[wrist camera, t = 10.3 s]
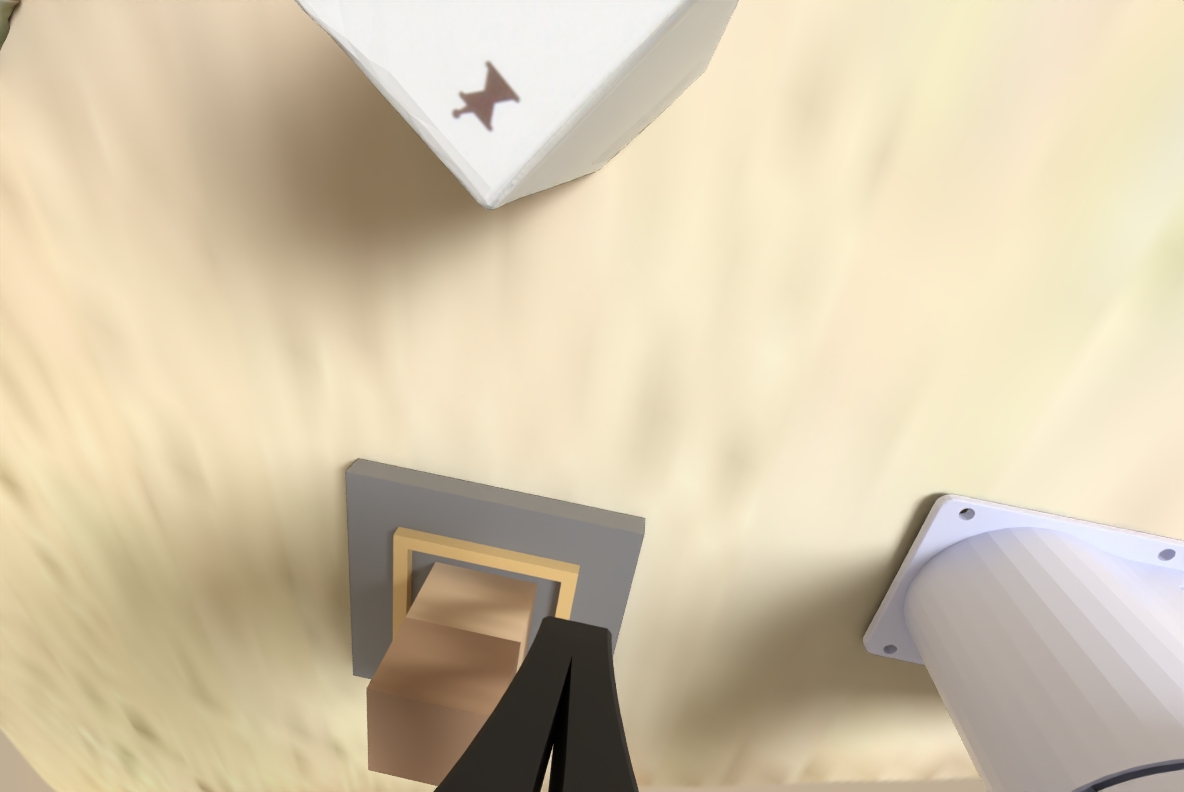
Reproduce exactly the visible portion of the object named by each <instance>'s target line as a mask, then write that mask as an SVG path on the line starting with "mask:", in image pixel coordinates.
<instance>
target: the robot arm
mask: <svg viewBox="0 0 1184 792" xmlns="http://www.w3.org/2000/svg"><path fill="white" fill-rule="evenodd" d="M966 508H969V510H968V511H967V512H965V513H960V511H961V510H963V509H966ZM959 513H960V514H959ZM1163 550H1164V551H1163ZM1161 551H1162V552H1161ZM863 644H864V646H865V649H866V650H867V651H868V652H869V653H871V654H875V655H879V656H884V657H889V658H893V659H898V660H903V661H907V662H912V663H917V664H921V665H925V666H926V668H927V670H928V672H929V674H930V676H931V678H932V680H933V682H934V684H935V686H936V688H937V690H938V692H939V695H940V697H941V699H942V701H943V703H944V705H945V707H946V709H947V711H948V713H949V715H950V717H951V719H952V721H953V723H954V725H955V727H956V729H957V731H958V733H959V735H960V737H961V739H962V742H963V744H964V746H965V748H966V750H967V752H968V754H969V756H970V758H971V760H972V762H973V764H974V766H975V768H976V770H977V772H978V774H979V776H980V778H981V780H982V782H983V784H984V786H985V789H986V791H987V792H1184V541H1182V540H1177V539H1172V538H1167V537H1162V536H1157V535H1152V534H1147V533H1142V532H1137V531H1132V530H1127V529H1123V528H1118V527H1113V526H1108V525H1103V524H1098V523H1093V522H1088V521H1083V520H1078V519H1073V518H1068V517H1063V516H1058V515H1053V514H1048V513H1043V512H1039V511H1034V510H1029V509H1024V508H1019V507H1014V506H1009V505H1004V504H999V503H994V502H989V501H984V500H979V499H974V498H969V497H964V496H959V495H955V494H948V495H944V496H942V497H940V498H938V499H937V500H936V502H935V503H934V505H933V507H932V509H931V510H930V512H929V514H928V516H927V518H926V520H925V522H924V524H923V526H922V527H921V529H920V531H919V533H918V535H917V537H916V539H915V541H914V543H913V544H912V546H911V548H910V550H909V552H908V554H907V556H906V558H905V560H904V561H903V563H902V565H901V567H900V569H899V571H898V573H897V575H896V577H895V578H894V580H893V582H892V584H891V586H890V588H889V590H888V592H887V594H886V595H885V597H884V599H883V601H882V603H881V605H880V607H879V609H878V611H877V612H876V614H875V616H874V618H873V620H872V622H871V624H870V626H869V628H868V629H867V631H866V633H865V635H864V637H863ZM887 645H890V646H887ZM553 743H554V744H553ZM552 747H553V753H552V763H551V772H550V781H549V791H548V792H639V791H638V787H637V783H636V779H635V776H634V772H633V768H632V764H631V760H630V756H629V751H628V747H627V743H626V738H625V733H624V728H623V723H622V718H621V714H620V708H619V703H618V697H617V690H616V683H615V676H614V668H613V657H612V634H611V632H610V631H609V630H608V628H603V627H598V626H594V625H589V624H585V623H580V622H575V621H571V620H566V619H562V618H557V617H552V616H547V617H545V618H543V619H542V622H541V624H540V627H539V630H538V632H537V634H536V637H535V639H534V641H533V643H532V645H531V647H530V649H529V651H528V653H527V655H526V657H525V659H524V661H523V663H522V664H521V666H520V668H519V670H518V672H517V673H516V675H515V677H514V678H513V680H512V682H511V683H510V685H509V686H508V688H507V690H506V691H505V693H504V695H503V696H502V698H501V699H500V701H499V703H498V704H497V706H496V707H495V709H494V710H493V712H492V713H491V715H490V716H489V718H488V719H487V721H486V722H485V724H484V725H483V726H482V728H481V729H480V731H479V732H478V734H477V735H476V736H475V738H474V739H473V741H472V742H471V744H470V745H469V746H468V748H467V749H466V751H465V752H464V753H463V755H462V756H461V757H460V759H459V760H458V761H457V763H456V764H455V765H454V767H453V768H452V769H451V770H450V772H449V773H448V774H447V776H446V777H445V778H444V779H443V781H442V782H441V783H440V784H439V786H438V787H437V788H436V789H435V791H434V792H540V791H541V787H542V784H543V780H544V776H545V773H546V769H547V765H548V762H549V758H550V754H551V751H552Z"/></svg>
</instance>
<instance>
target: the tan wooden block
mask: <svg viewBox="0 0 1184 792" xmlns="http://www.w3.org/2000/svg"><path fill="white" fill-rule="evenodd" d="M537 586H538V584H537V583H532V582H527V581H523V580H518V579H513V578H509V577H504V576H499V575H495V574H490V573H485V572H481V571H476V570H471V569H467V568H462V567H457V566H453V565H448V564H443V563H439V562H435V564H434V566H433V568H432V570H431V571H430V573H429V575H428V577H427V579H426V581H425V582H424V584H423V586H422V588H421V590H420V592H419V593H418V595H417V597H416V599H415V601H414V603H413V604H412V606H411V608H410V610H409V612H408V614H407V615H406V617H405V619H404V621H403V623H402V625H401V627H400V628H399V630H398V632H397V634H396V636H395V638H394V639H393V641H392V643H391V645H390V647H389V649H388V650H387V652H386V654H385V656H384V658H383V660H382V661H381V663H380V665H379V667H378V669H377V671H376V672H375V674H374V676H373V678H372V680H371V682H370V683H369V685H368V687H367V729H368V770H371V771H375V772H379V773H384V774H388V775H392V776H397V777H401V778H405V779H410V780H414V781H418V782H423V783H427V784H431V785H435V786H439V784H440V783H441V782H442V781H443V779H444V778H445V777H446V776H447V774H448V773H449V772H450V770H451V769H452V768H453V767H454V765H455V764H456V763H457V761H458V760H459V759H460V757H461V756H462V755H463V753H464V752H465V751H466V749H467V748H468V746H469V745H470V744H471V742H472V741H473V739H474V738H475V736H476V735H477V734H478V732H479V731H480V729H481V728H482V726H483V725H484V724H485V722H486V721H487V719H488V718H489V716H490V715H491V713H492V712H493V710H494V709H495V707H496V706H497V704H498V703H499V701H500V699H501V698H502V696H503V695H504V693H505V691H506V690H507V688H508V686H509V685H510V683H511V682H512V680H513V678H514V677H515V675H516V673H517V672H518V670H519V668H520V666H521V664H522V663H523V661H524V659H525V657H526V655H527V649H528V643H529V636H530V630H531V624H532V617H533V611H534V605H535V598H536V592H537Z"/></svg>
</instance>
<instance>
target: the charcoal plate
mask: <svg viewBox="0 0 1184 792" xmlns="http://www.w3.org/2000/svg"><path fill="white" fill-rule="evenodd" d="M346 494H347V521H348V548H349V574H350V601H351V627H352V654H353V675H355V676H359V677H364V678H368V679H372V678H373V676H374V674H375V672H376V671H377V669H378V667H379V665H380V663H381V661H382V660H383V658H384V656H385V654H386V652H387V650H388V649H389V647H390V645H391V643H392V641H393V639H394V638H395V636H396V634H397V632H398V630H399V628H400V627H401V625H402V623H403V621H404V619H405V617H406V615H407V614H408V612H409V610H410V608H411V606H412V604H413V603H414V601H415V599H416V597H417V595H418V593H419V592H420V590H421V588H422V586H423V584H424V582H425V581H426V579H427V577H428V575H429V573H430V571H431V570H432V568H433V566H434V564H435V562H439V563H443V564H448V565H453V566H457V567H462V568H467V569H471V570H476V571H481V572H485V573H490V574H495V575H499V576H504V577H509V578H513V579H518V580H523V581H527V582H532V583H537V584H538V586H537V592H536V598H535V605H534V611H533V617H532V624H531V630H530V636H529V643H528V649H527V653H528V651H529V649H530V647H531V645H532V643H533V641H534V639H535V637H536V634H537V632H538V630H539V627H540V624H541V622H542V619H543V618H545V617H547V616H552V617H557V618H562V619H566V620H571V621H575V622H580V623H585V624H589V625H594V626H598V627H603V628H608V630H609V631H610V632H611V634H612V657H613V654H614V650H615V646H616V643H617V639H618V635H619V631H620V627H621V623H622V619H623V615H624V611H625V608H626V604H627V600H628V596H629V592H630V588H631V584H632V580H633V577H634V573H635V569H636V565H637V561H638V557H639V553H640V549H641V545H642V542H643V538H644V532H645V518H641V517H636V516H632V515H627V514H622V513H617V512H613V511H608V510H603V509H598V508H593V507H589V506H584V505H579V504H574V503H569V502H565V501H560V500H555V499H550V498H545V497H541V496H536V495H531V494H526V493H522V492H517V491H512V490H507V489H502V488H498V487H493V486H488V485H483V484H478V483H474V482H469V481H464V480H459V479H454V478H450V477H445V476H440V475H435V474H431V473H426V472H421V471H416V470H411V469H407V468H402V467H397V466H392V465H387V464H383V463H378V462H373V461H368V460H363V459H359V458H358V459H357V460H356V461H355V462H354V463H353V464H352V465H351V466H350V468H349V469H348V470H347V471H346Z"/></svg>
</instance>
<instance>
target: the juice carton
mask: <svg viewBox="0 0 1184 792" xmlns="http://www.w3.org/2000/svg"><path fill="white" fill-rule="evenodd" d="M19 1H20V0H0V49H1V47H2V45H3V43H4V41H5V40H6V37H7V35H8V33H9V30H10V24H9V21H8V18H9V17H10V15H11V13H12V11H13V8H14V6H15V5H17V4H18V3H19Z"/></svg>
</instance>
